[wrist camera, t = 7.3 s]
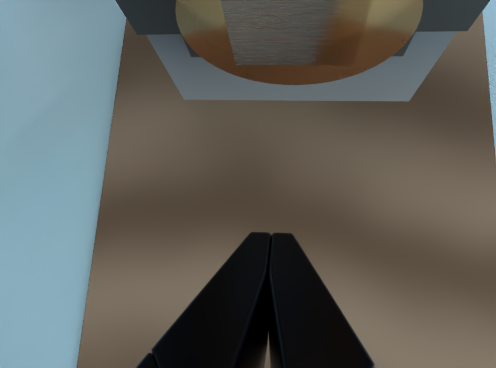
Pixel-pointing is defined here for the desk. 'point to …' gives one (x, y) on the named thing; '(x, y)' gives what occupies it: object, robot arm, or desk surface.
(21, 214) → the desk surface
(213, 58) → the gold rounded piece
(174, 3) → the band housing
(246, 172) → the walnut board
